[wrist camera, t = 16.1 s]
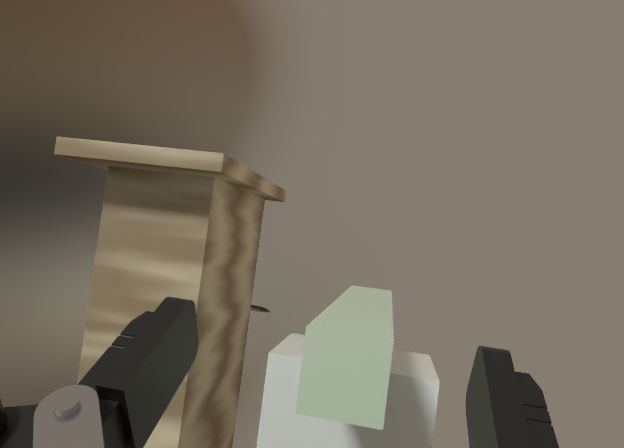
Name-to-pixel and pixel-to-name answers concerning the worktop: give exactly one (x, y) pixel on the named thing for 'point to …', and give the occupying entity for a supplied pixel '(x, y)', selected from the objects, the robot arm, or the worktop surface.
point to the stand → (177, 269)
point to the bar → (348, 359)
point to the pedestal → (341, 436)
